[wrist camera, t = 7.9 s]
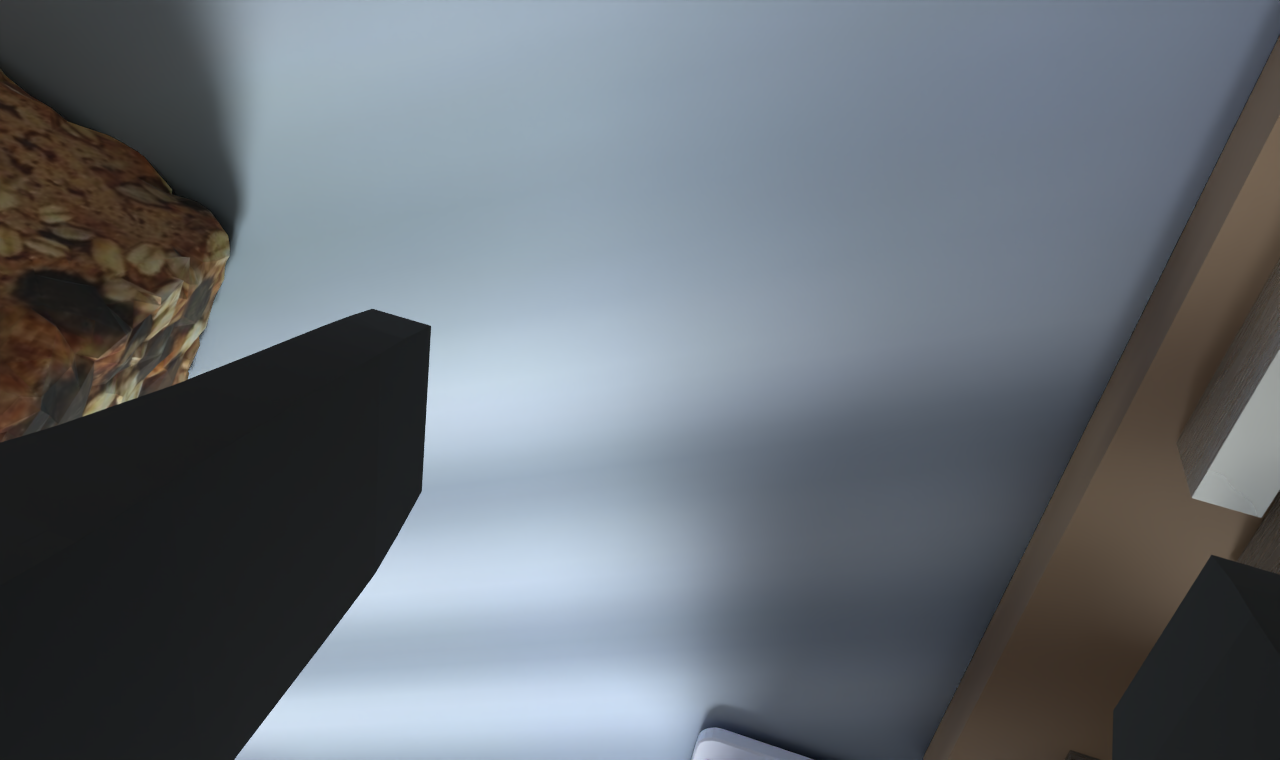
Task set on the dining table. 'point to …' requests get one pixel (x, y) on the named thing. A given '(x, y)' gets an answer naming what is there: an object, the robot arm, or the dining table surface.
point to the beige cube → (1265, 543)
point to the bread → (92, 270)
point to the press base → (1146, 478)
